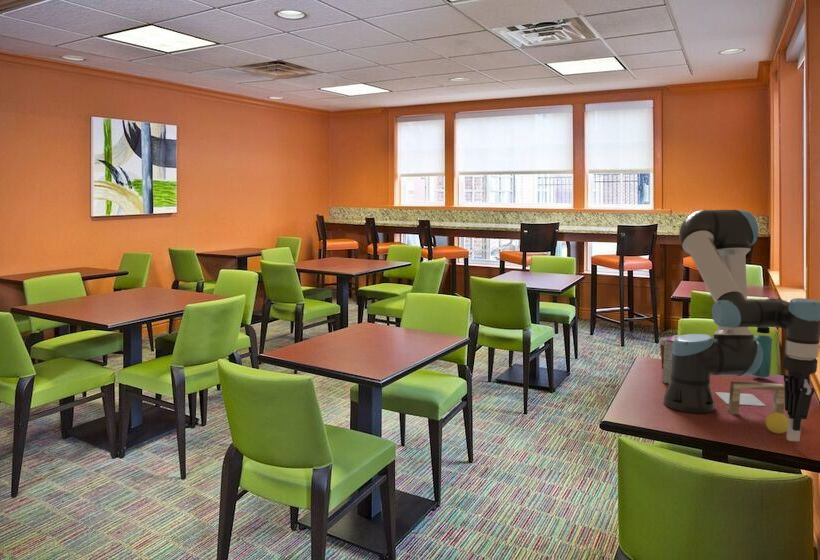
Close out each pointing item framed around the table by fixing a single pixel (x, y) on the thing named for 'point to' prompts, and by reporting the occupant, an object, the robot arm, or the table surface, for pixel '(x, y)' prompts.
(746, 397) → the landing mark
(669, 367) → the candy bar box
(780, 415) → the ball
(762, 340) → the beverage bottle
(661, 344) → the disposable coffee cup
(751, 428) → the table surface
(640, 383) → the table surface
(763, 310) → the robot arm
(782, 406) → the bridge
